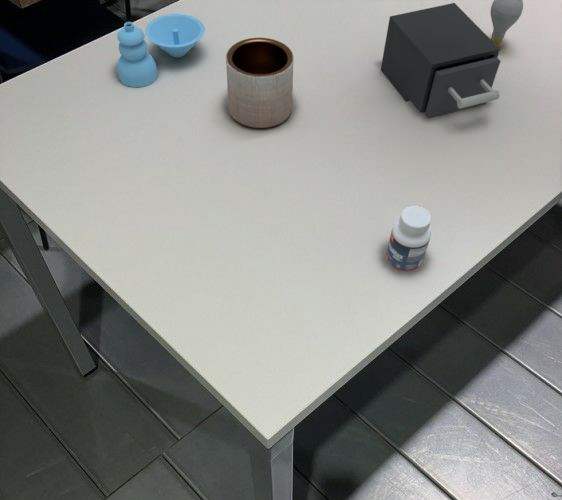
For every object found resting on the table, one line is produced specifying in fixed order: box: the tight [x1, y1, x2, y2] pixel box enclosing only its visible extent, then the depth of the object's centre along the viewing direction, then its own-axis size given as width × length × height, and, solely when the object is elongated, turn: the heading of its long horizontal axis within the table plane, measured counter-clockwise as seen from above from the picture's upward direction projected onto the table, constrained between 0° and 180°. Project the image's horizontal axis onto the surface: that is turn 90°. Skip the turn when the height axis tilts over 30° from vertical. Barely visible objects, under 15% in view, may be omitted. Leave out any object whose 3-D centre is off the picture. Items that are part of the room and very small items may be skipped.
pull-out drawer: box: [424, 56, 502, 119], centre depth 104 cm, size 18×11×8 cm, turn 22°
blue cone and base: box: [116, 13, 206, 88], centre depth 108 cm, size 18×10×9 cm, turn 136°
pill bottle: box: [385, 205, 432, 272], centre depth 85 cm, size 5×5×9 cm
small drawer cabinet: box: [380, 2, 501, 114], centre depth 106 cm, size 15×13×10 cm
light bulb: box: [490, 0, 524, 48], centre depth 113 cm, size 5×6×10 cm
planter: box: [225, 37, 295, 129], centre depth 102 cm, size 11×11×10 cm
